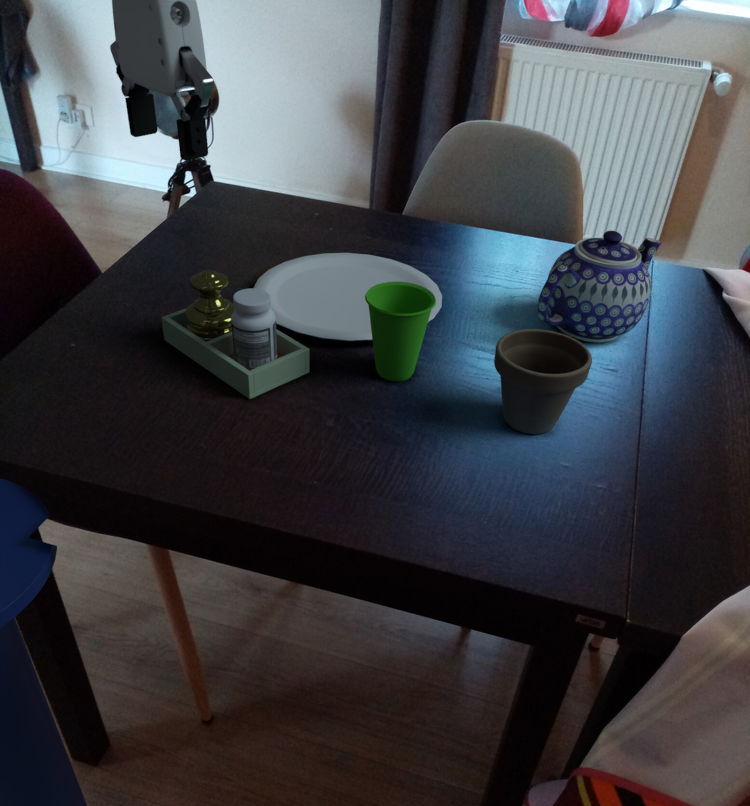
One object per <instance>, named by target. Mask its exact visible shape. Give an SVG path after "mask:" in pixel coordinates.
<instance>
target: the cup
mask: <svg viewBox="0 0 750 806" xmlns="http://www.w3.org/2000/svg"><path fill="white" fill-rule="evenodd" d="M365 300H366V302H367V303H368V306H369V314H370V323H371V331H372V340H373V341H372V347H373V356H374V364H375V371H376V372H377V374H378V376H379V377H380V378H382V379H384V380H387V381H389V382H390V381H391V382H404V381H407V380H409V379H410V378H411V377H412V375H413V374H414V373H415V371H416V366H417V363H418V359H419V356H420V352H421V349H422V345H423V341H424V338H425V334H426V331H427V327H428V324H429V323H428V320H429V317H430V313H431V310H432V309H433V307H434V306H435V304H436V299H435V296H434V295H433V293H432V292H431V291H429V290H428V289H426V288H424V287H422V286H420V285H417V284H413V283H408V282H386V283H381V284H378V285H375V286H373V287H371V288H370V289H369V290H368V291H367V293H366V295H365Z"/></svg>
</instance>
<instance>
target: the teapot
mask: <svg viewBox="0 0 750 806" xmlns="http://www.w3.org/2000/svg"><path fill="white" fill-rule="evenodd" d="M602 236H603V237H586V238H582V239H580V240H579V241H577V242H576V243H575V246H573V247H571V248H569V249H567V250H566V251H563V253H561V254H560V255H559V256H558V257H556V259H555V261H554V263H553V265H552V266H551V268H550V270H549V273H548V276H547V279H546V280H545V283H544V284H543V286H542V288H541V291H540V293H539V296H538V300H537V301H538V302H537V307H536V309H537V310H536V311H537V316H538V318H539V320H540V321H541V322H542V323H543V324H545V325H548V326H551V327H556V328H558V330H559V331H560V332H562V334H564V335H567V336H569V337H572V338H574V339H575V340H578V341H583V342H587V343H596V344H597V343H600V344H601V343H607V342H613V341H614V340H616V339H617V338H619V336H622V335H624V334H627V333H628V332H630V331H631V330H633V329H634V328H636V327H637V325H638V324H639V322H640V321H641V320H642V318H643V317H644V315H645V312H646V310H647V307H648V305H649V303H650V298H651V293H652V278H651V274H650V272H649V268H650V265H651V263H652V259H653V257H654V255H655V253H656V252H657V250H658V249H659V248H660V246H661V245H662V242H661V241H660V240H658V239H656V238H652V237H645V238H644V240H643V241H642V243H641V244H640V245H639V247H638V248H637V247H636V246H633V245H632V244H629V243H627V242H624V241H622V240H623V235H622V234H621V233H620V232H618V231H616V230H606V231H605V232H604V233H603V235H602ZM549 316H550V317H549Z"/></svg>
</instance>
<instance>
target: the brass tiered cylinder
mask: <svg viewBox="0 0 750 806" xmlns="http://www.w3.org/2000/svg"><path fill="white" fill-rule="evenodd" d="M189 284H190V286H191V287H192V288H193V289H194V290H196V291H197V292H199V294H200V295H199V297H198V298H196V299H195V300H194V301H193V302H191V303H190V304H189V305H188V306H187V307H186V308H187V309H186V308H185V309H186V310H185V319H186V322H187V323H188V324H187V326H186V329H187V330H189V331H190V332H192V333H193V334H195V335H196V336H198V337H199V338H201V339H202V340H204V341H205V342H207V341H209V340H212V339H214V338H217V337H220V336H222V335H225V334H227V333H230V332H232V326H231V315H232V313H233V312H234V310H235V308H234V306H233V301H231V300H229V299H227V298H226V297H225V296H223V295H222V294H221V293H222V290H225V288H226V287H227V286H228V285H229V278H228V276H227V275H226V274H224V273H222V272H219V271H217V270H213V269H205V270H202V271H200V272H197V273H195V274H194V275H192V276H191V277H190V279H189Z"/></svg>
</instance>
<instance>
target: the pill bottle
mask: <svg viewBox="0 0 750 806" xmlns="http://www.w3.org/2000/svg"><path fill="white" fill-rule="evenodd" d="M232 302H233V306H234V308H235V310H234V312H233V313H232V315H231V326H232V338H233V351H234V361H236V362H237V363H239V364H240V365H242V366H243V367H245V368H246V369H248V370H249V371H250V370H252V369H255V368H257V367H259V366H262V365H264V364H266V363H269V362H271V361H273V360H276V359H278V358H277V336H276V329H277V324H276V317H275V314H274V312H273V311H272V310H271V309H270V307H271V297H270V294H269V293H268V292H266V291H264V290H261V289H255V288H254V287H253V288H252V287H251V288H244V289H240V290H238V291H236V292H234V294H233V295H232Z"/></svg>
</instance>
